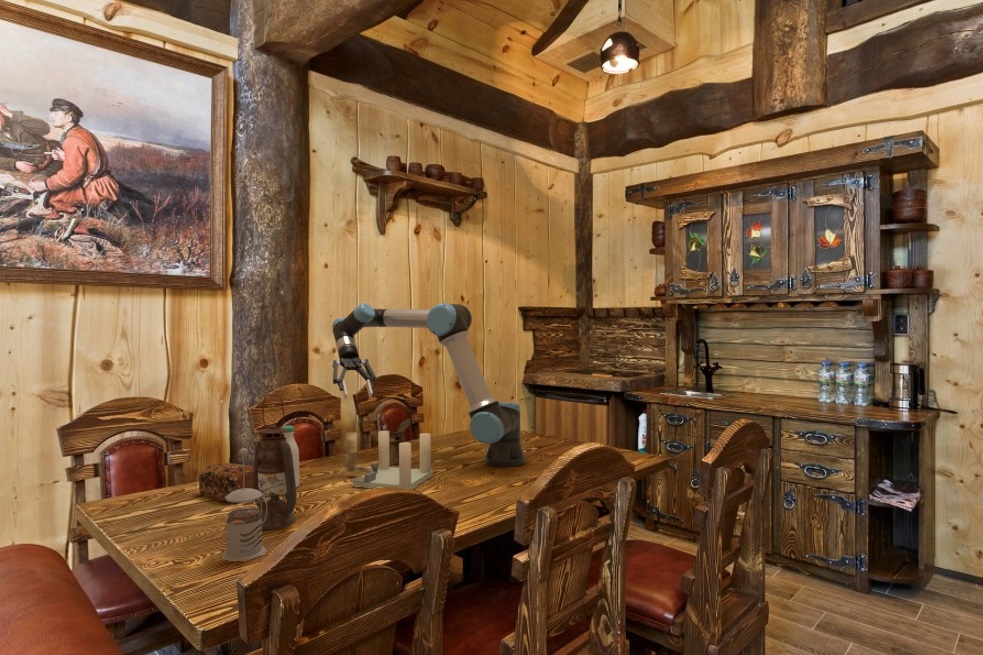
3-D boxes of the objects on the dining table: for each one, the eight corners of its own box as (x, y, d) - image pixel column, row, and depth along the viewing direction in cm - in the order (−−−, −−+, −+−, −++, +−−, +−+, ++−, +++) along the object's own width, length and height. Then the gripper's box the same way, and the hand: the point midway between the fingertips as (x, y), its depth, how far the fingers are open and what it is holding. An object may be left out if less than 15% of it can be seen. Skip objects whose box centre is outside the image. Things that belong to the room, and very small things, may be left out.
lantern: (277, 534, 152) (276, 398, 151) (237, 523, 160) (236, 394, 160) (310, 521, 161) (309, 393, 161) (271, 511, 170) (269, 390, 169)
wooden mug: (401, 468, 219) (401, 419, 218) (374, 463, 226) (373, 416, 225) (416, 463, 226) (416, 416, 226) (389, 458, 233) (389, 413, 233)
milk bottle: (304, 485, 197) (303, 425, 196) (287, 491, 190) (286, 429, 189) (286, 482, 200) (286, 423, 199) (269, 488, 193) (268, 427, 192)
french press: (212, 558, 137) (210, 451, 136) (249, 540, 148) (248, 441, 147) (245, 564, 133) (244, 454, 133) (280, 545, 144) (279, 443, 144)
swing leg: (380, 470, 206) (379, 433, 205) (374, 473, 202) (374, 435, 202) (349, 467, 209) (349, 431, 209) (343, 470, 205) (343, 434, 205)
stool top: (432, 475, 207) (432, 433, 207) (407, 492, 188) (407, 445, 187) (380, 471, 213) (379, 430, 213) (350, 487, 194) (349, 441, 194)
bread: (263, 496, 185) (263, 464, 185) (232, 505, 176) (232, 472, 176) (227, 487, 195) (227, 457, 195) (196, 495, 186) (196, 464, 186)
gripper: (372, 356, 240) (384, 400, 226) (318, 358, 230) (327, 404, 216) (376, 343, 235) (388, 387, 221) (321, 345, 225) (331, 391, 211)
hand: (358, 395), depth 219 cm, fingers open, 9 cm apart
